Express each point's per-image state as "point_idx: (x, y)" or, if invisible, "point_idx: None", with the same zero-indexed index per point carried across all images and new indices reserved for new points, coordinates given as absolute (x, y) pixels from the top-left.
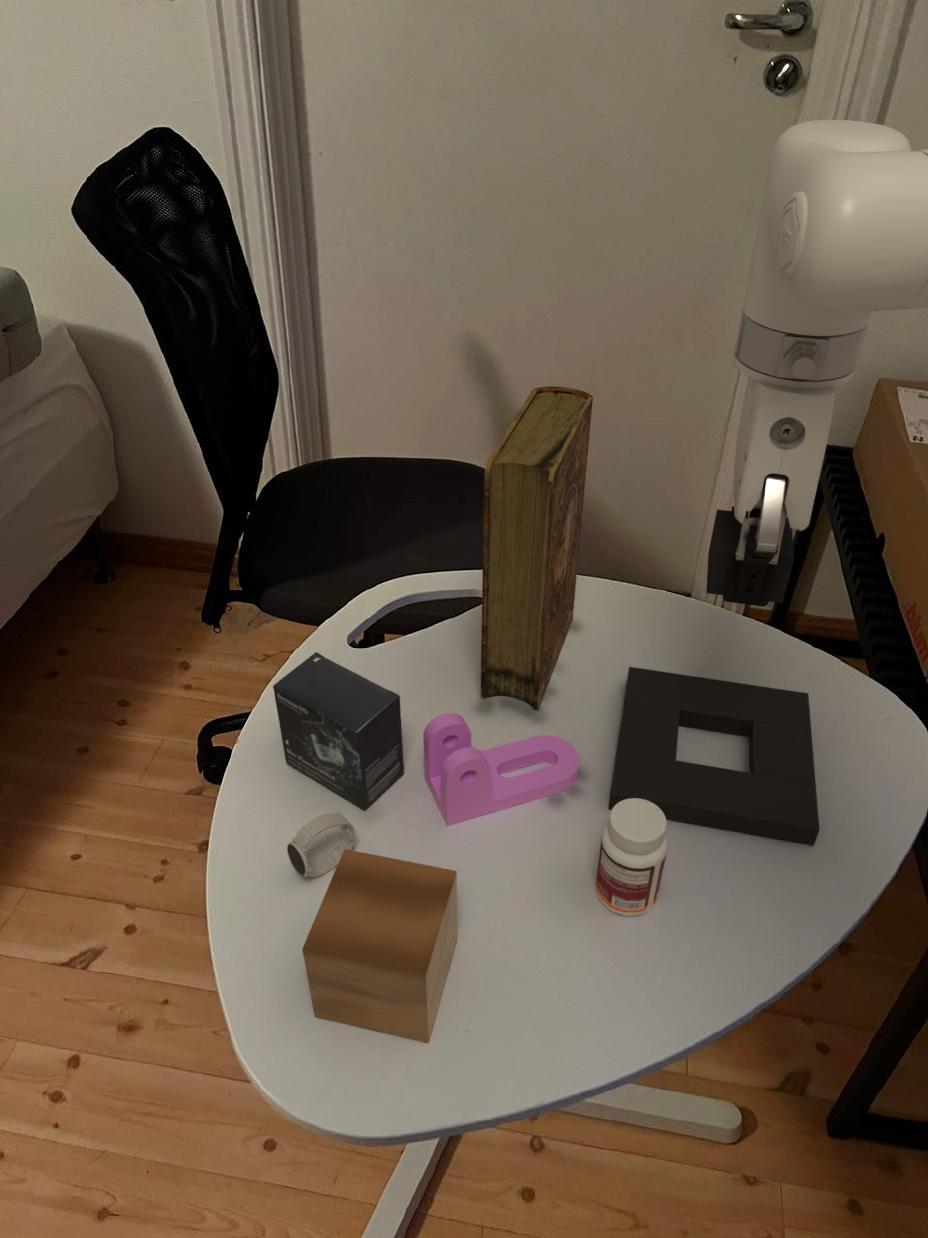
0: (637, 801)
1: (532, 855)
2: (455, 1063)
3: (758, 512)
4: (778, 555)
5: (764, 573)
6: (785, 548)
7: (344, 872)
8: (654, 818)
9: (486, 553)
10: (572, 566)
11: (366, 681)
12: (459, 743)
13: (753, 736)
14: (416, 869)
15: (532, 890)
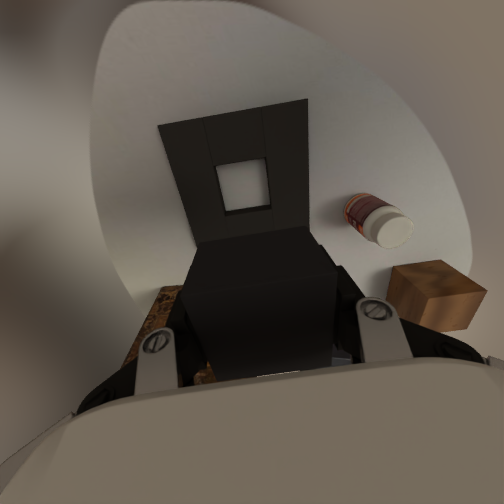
0: (380, 237)
1: (343, 254)
2: (449, 248)
3: (193, 341)
4: (397, 317)
5: (363, 295)
6: (306, 290)
7: None
8: (394, 225)
9: None
10: (163, 325)
11: (318, 368)
12: None
13: (229, 163)
14: (427, 311)
15: (363, 248)
